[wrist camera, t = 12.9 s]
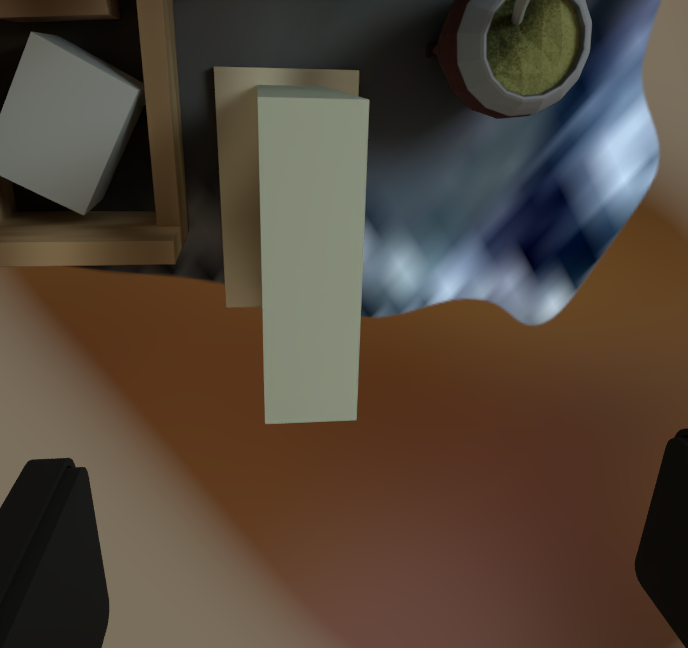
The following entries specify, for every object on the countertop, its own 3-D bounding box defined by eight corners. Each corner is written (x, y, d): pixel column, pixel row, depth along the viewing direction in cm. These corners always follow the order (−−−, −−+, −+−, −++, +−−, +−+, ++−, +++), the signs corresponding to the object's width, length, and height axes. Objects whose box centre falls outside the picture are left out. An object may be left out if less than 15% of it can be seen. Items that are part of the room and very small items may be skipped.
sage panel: (322, 86, 35) (369, 99, 20) (319, 288, 39) (356, 420, 25) (257, 84, 34) (257, 97, 20) (262, 289, 39) (265, 423, 24)
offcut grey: (152, 87, 35) (138, 90, 30) (103, 198, 36) (83, 215, 32) (59, 35, 33) (30, 31, 29) (13, 154, 35) (-20, 166, 31)
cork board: (357, 70, 35) (359, 70, 35) (351, 301, 41) (352, 304, 40) (214, 66, 34) (213, 66, 34) (226, 304, 40) (226, 307, 39)
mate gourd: (535, 105, 37) (696, 128, 24) (406, 117, 37) (495, 148, 23) (540, -36, 35) (728, -104, 21) (401, -26, 34) (500, -89, 20)
